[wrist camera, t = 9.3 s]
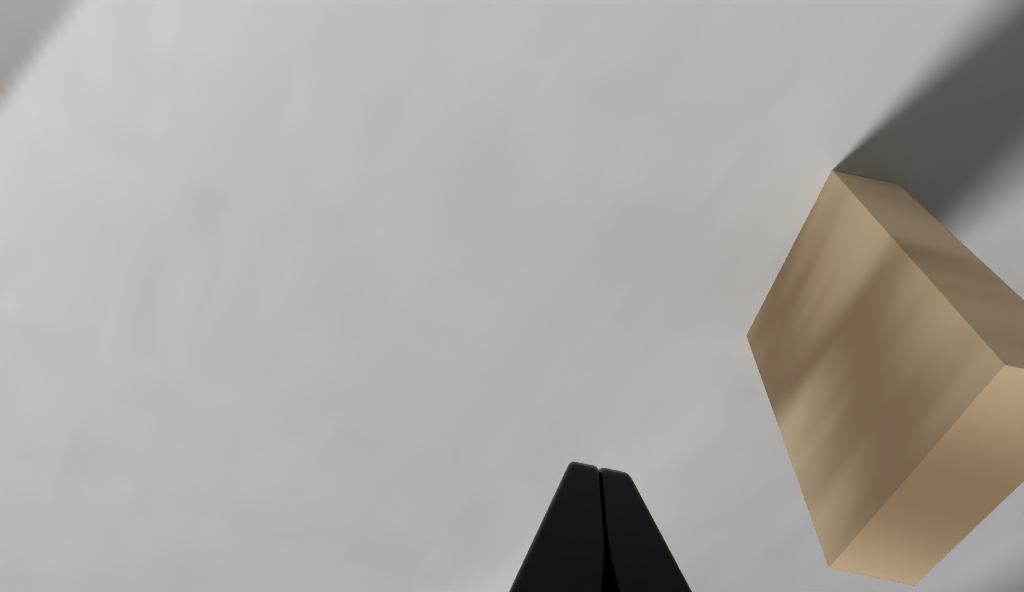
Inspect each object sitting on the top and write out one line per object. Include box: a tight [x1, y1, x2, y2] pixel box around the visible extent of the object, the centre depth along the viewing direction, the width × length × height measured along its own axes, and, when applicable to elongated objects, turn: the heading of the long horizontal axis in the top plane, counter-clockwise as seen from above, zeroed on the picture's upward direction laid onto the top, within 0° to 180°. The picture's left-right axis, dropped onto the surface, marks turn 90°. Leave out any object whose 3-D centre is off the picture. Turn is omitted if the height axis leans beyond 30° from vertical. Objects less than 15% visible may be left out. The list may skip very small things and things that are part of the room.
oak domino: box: [747, 170, 1024, 586], centre depth 12 cm, size 5×2×7 cm, turn 170°
